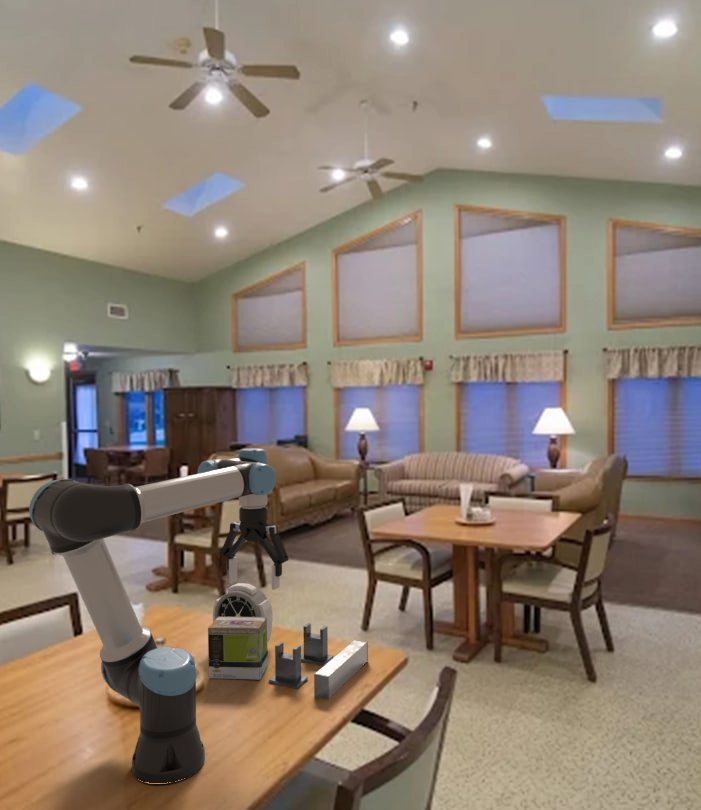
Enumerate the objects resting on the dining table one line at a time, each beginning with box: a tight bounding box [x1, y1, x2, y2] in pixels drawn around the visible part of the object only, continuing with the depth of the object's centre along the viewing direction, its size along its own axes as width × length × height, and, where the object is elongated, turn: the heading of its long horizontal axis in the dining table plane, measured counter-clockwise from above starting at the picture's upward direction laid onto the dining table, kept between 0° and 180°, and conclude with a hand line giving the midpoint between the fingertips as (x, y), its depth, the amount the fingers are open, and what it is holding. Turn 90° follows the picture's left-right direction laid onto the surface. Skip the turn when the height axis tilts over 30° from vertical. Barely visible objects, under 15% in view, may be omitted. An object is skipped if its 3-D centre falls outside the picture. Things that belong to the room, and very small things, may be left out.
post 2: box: [301, 623, 334, 667], centre depth 190 cm, size 6×9×10 cm, turn 65°
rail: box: [313, 639, 369, 701], centre depth 177 cm, size 26×4×6 cm, turn 155°
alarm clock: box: [212, 582, 273, 643], centre depth 198 cm, size 18×8×20 cm, turn 73°
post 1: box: [268, 641, 309, 690], centre depth 175 cm, size 6×9×10 cm, turn 65°
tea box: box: [207, 617, 269, 681], centre depth 181 cm, size 15×10×15 cm, turn 84°
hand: (254, 585), depth 169 cm, fingers open, 13 cm apart
